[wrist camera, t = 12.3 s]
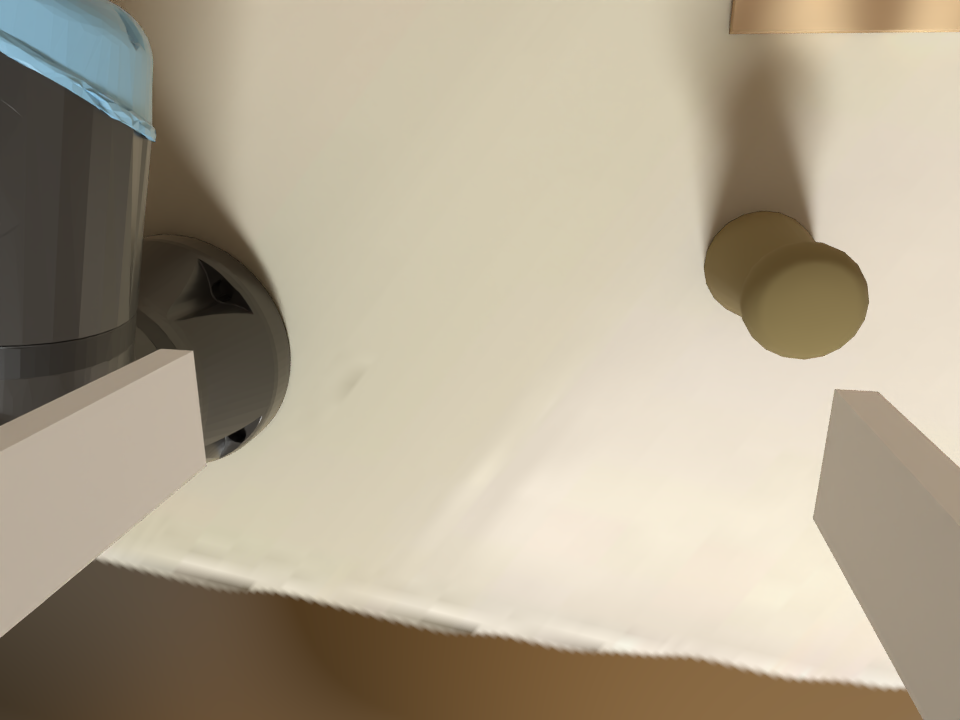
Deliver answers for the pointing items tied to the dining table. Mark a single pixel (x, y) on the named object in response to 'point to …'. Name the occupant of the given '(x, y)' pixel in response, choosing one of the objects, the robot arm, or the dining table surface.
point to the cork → (786, 285)
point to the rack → (844, 16)
